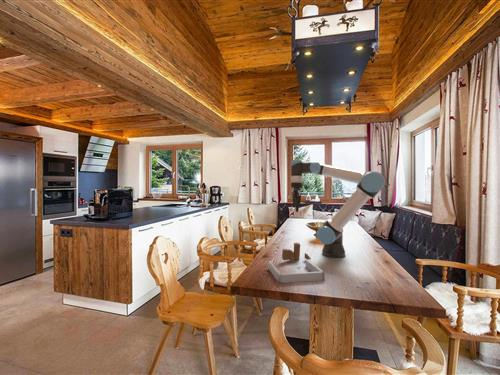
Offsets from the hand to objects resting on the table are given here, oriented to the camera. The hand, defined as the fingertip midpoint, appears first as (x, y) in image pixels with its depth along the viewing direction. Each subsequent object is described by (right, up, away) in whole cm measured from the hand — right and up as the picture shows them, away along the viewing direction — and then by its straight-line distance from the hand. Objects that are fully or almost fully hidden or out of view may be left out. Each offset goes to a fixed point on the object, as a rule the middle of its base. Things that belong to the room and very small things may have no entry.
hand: (296, 216), depth 174 cm
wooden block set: (-3, -27, -13) cm, 30 cm away
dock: (-8, -27, -36) cm, 46 cm away
